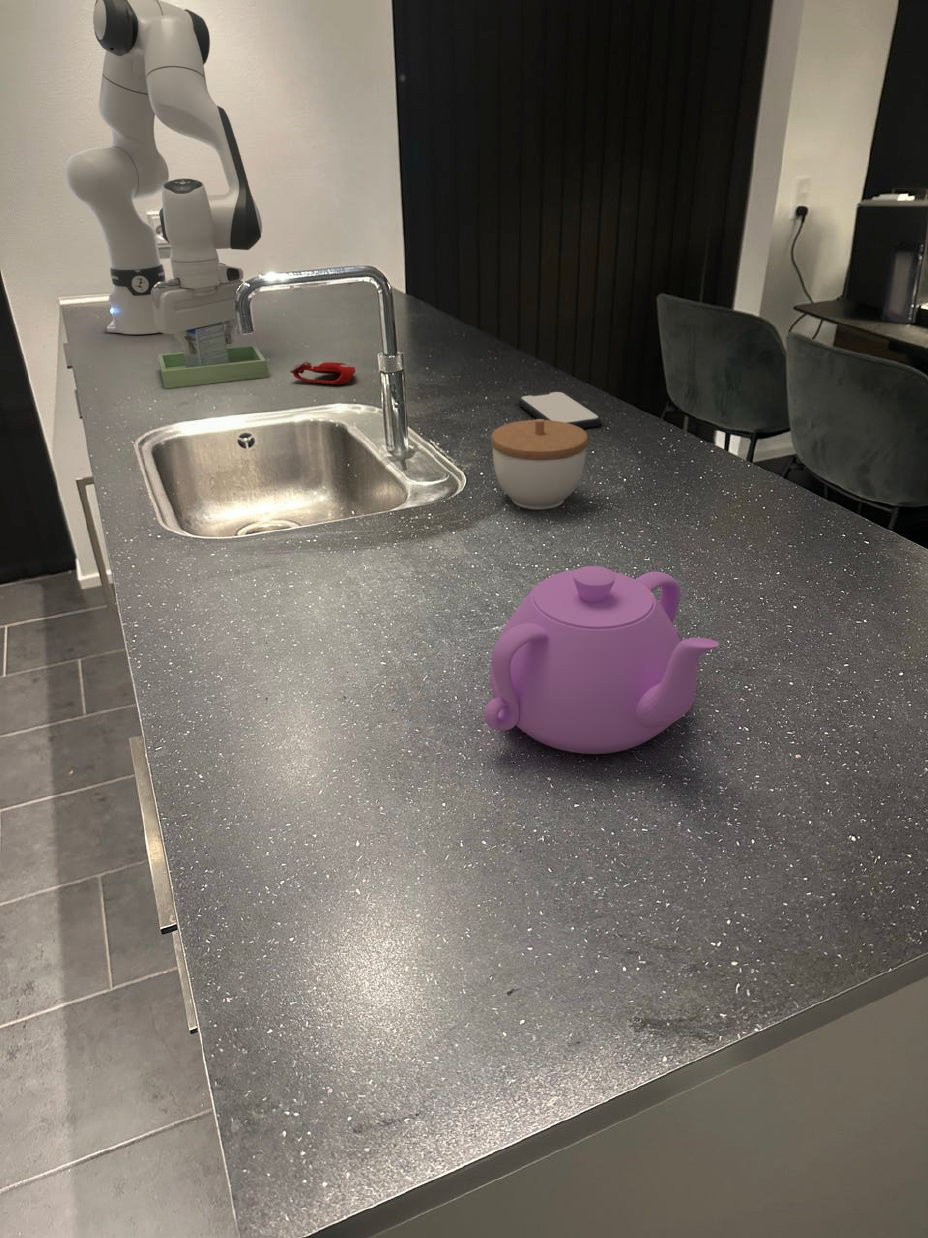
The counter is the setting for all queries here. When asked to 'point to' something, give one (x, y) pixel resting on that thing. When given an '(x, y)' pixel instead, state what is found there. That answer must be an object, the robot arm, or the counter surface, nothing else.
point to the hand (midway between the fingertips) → (208, 348)
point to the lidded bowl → (539, 461)
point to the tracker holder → (325, 371)
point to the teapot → (594, 662)
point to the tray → (213, 368)
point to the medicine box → (207, 346)
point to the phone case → (559, 409)
